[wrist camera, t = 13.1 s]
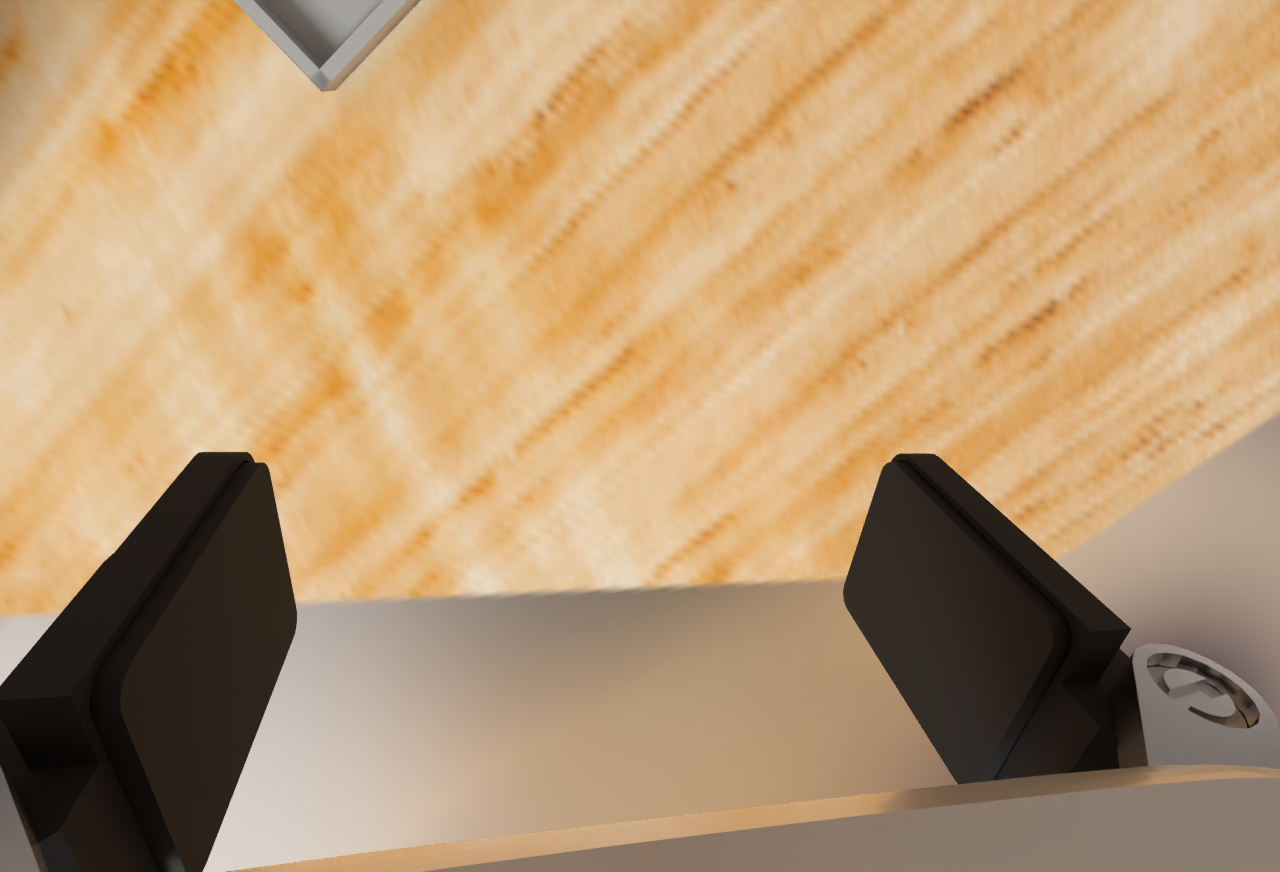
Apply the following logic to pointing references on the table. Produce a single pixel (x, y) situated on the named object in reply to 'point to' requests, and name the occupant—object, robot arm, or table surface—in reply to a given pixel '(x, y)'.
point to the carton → (327, 32)
